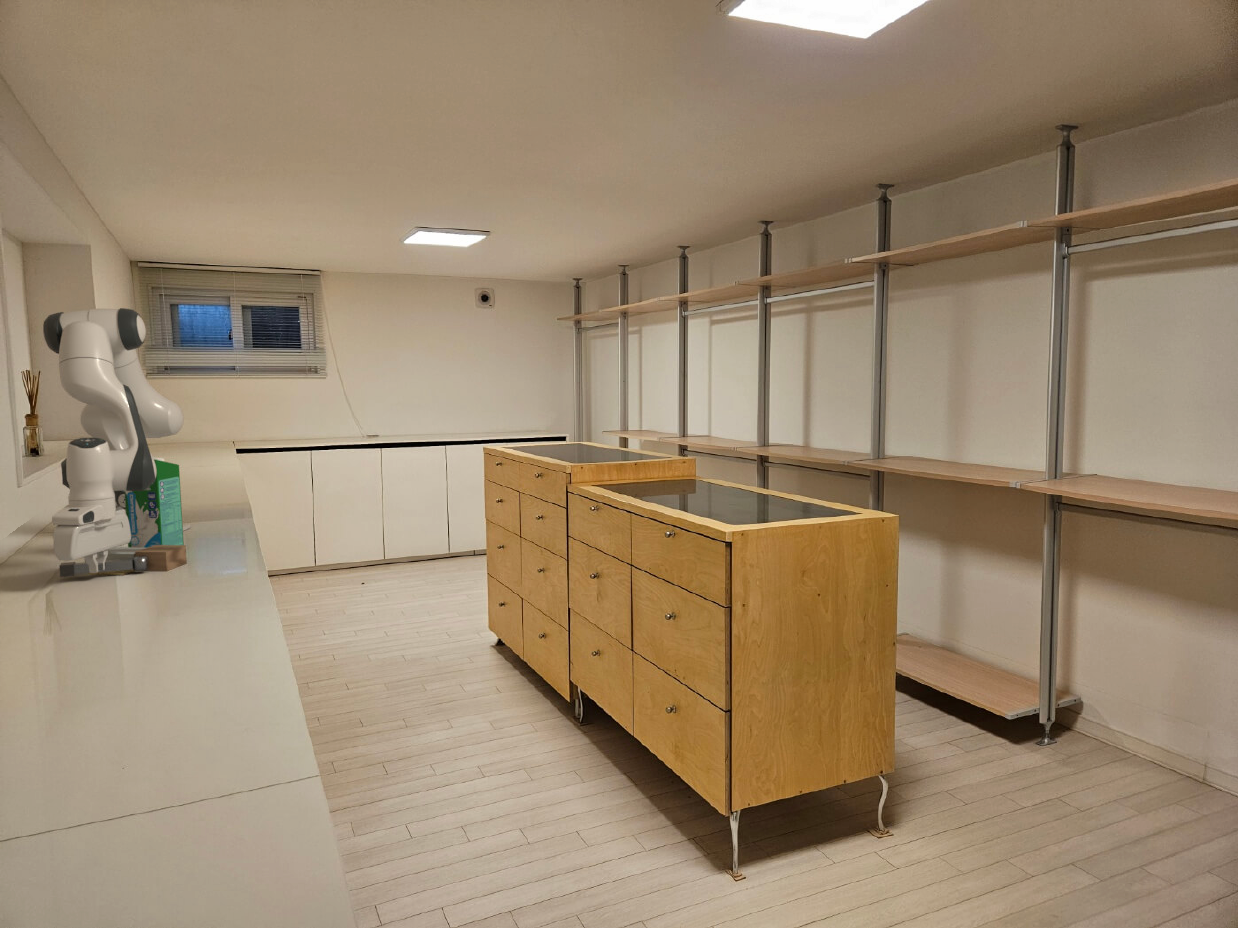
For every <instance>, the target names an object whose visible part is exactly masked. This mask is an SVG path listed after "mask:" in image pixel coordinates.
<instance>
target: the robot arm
mask: <svg viewBox="0 0 1238 928" xmlns="http://www.w3.org/2000/svg"><path fill="white" fill-rule="evenodd" d="M42 325H43V327H42V334H43V338H44V339H43V340H44V341H45V343H46V345H47V347H48V349H49V350H51V351H52V352H54V353H56V354H58V369H59V371H58V372H59V379H60V383H61V386H62V388H63V390H64V391H65V392H66V393H67V394H68V395H69V396H71V397H72V398H73V399H75V400H77V401H79V402H81V403H83V404H85V406H84V407H83V409H82V410H81V413H80V417H79V419H80V420H79V421H80V425H81V428H83V430H84V432H85V433H86V434H87V435H88V436H90V437H80V438H76V439H73V440H70V441H69V442H68V444H67V451H66V458H65V459H63V460H62V461H61V462H60V467H61V477H62V478H61V479H62V483H61V484H62V485H63V486H65V487H66V488H68V489H69V493H68V497H67V499H68V501H67V502H68V504H67V505H65V506H64V507H63V508H62V509H61V510H59V511H58V512H56V513H55V514H53V515H52V517H51V523H52V525H54V526H56V527H55V528H54V529H53V535H52V536H53V537H52V538H53V549H54V556H55V557H56V559H58V561H75V560H78V559H81V558H83V559H84V562H85V561H86V563H87V564H88V565H89V572H90V573H97V572H100V571H103V570H105V561H106V558H107V555H108V549H111V548H115V547H121V546H124V545H128V543H129V542H130V540H131V531H130V525H129V520H128V517H127V515H126V506H125V490H127V491H143V490H145V489H147V488H148V487H149V486H150V485H152V484H153V483H154V482H155V479H156V474H157V470H156V464H155V461H154V459H153V457H155V455H153V454H152V452H151V451H150V448H149V444H148V442H147V439H159V438H160V439H161V438H166V437H171V436H176V435H177V434H178V433H179V432H180V431H181V430H182V428H183V425H184V418H185V417H184V413H183V410H182V408H181V407H180V406H179V405H178V404H177V402H175V401H172V400H170V399H169V398H167V397H165V396H164V395H162V394H161V393H159V392H158V391H157V390H156V389H155V388H154V387H153V386H152V385H151V384H150V383H149V381H148V380H147V377H146V376H145V374H144V372H143V369H142V365H141V362H140V359H139V356H138V353H137V350H136V349H139V348H141V346H142V345H143V344H144V343H145V342H146V341H145V340H146V334H147V328H146V325H145V321H143V319H142V316H141V315H140V314H139V313H138V312H137V311H135V310H134V309H131V308H124V307H120V308H119V309H118V308H117V309H116V308H91V309H83V310H75V311H67V312H63V311H60V312H55V313H52V314H49V315H48V316H47V317H46V318H45V319H44V321H43V324H42ZM182 524H183V532H184V531H186V530H188V529H191V524H189V523H183V522H182Z"/></svg>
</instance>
